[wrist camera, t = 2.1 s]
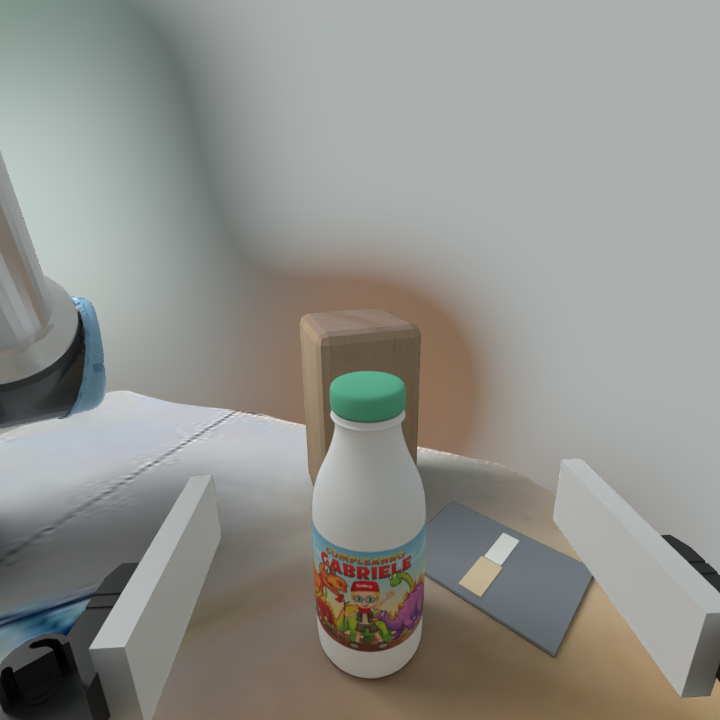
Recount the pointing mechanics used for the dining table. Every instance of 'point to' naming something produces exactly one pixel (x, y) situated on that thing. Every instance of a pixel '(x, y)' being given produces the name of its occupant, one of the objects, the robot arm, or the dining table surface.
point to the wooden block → (355, 367)
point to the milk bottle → (369, 531)
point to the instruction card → (505, 574)
